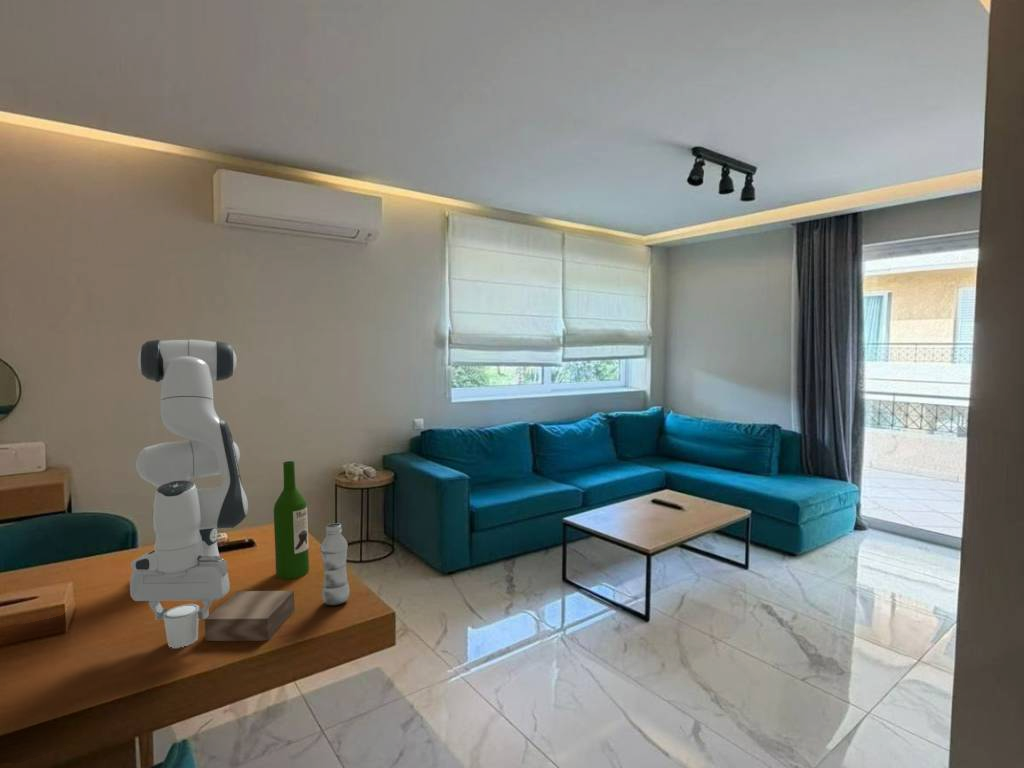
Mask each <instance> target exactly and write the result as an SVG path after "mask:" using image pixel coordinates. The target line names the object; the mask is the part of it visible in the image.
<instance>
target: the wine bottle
mask: <svg viewBox="0 0 1024 768" xmlns="http://www.w3.org/2000/svg"><path fill="white" fill-rule="evenodd" d="M282 465H283V490H282V491H281V492H280V494H279V496H278V498H277V500H276V501H275V502H274V505H273V506H274V507H273V527H274V528H273V530H274V551H275V552H274V555H275V558H274V559H275V575H276V577H277V579H280V580H294V579H293V578H295V579H298V578H297V577H299V578H301V577H300V576H302V577H304V576H306V575H307V574H309V572H308V571H310V554H309V529H308V527H309V526H308V525H309V524H308V523H309V522H308V505H307V501H306V500H305V498H304V497H303V495H302V494H301V493H300V491H299V490H298V488H297V486H296V471H295V461H292V460H291V461H290V460H289V461H284V462H283V463H282ZM306 573H307V574H306ZM305 574H306V575H305ZM303 575H304V576H303Z"/></svg>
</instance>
